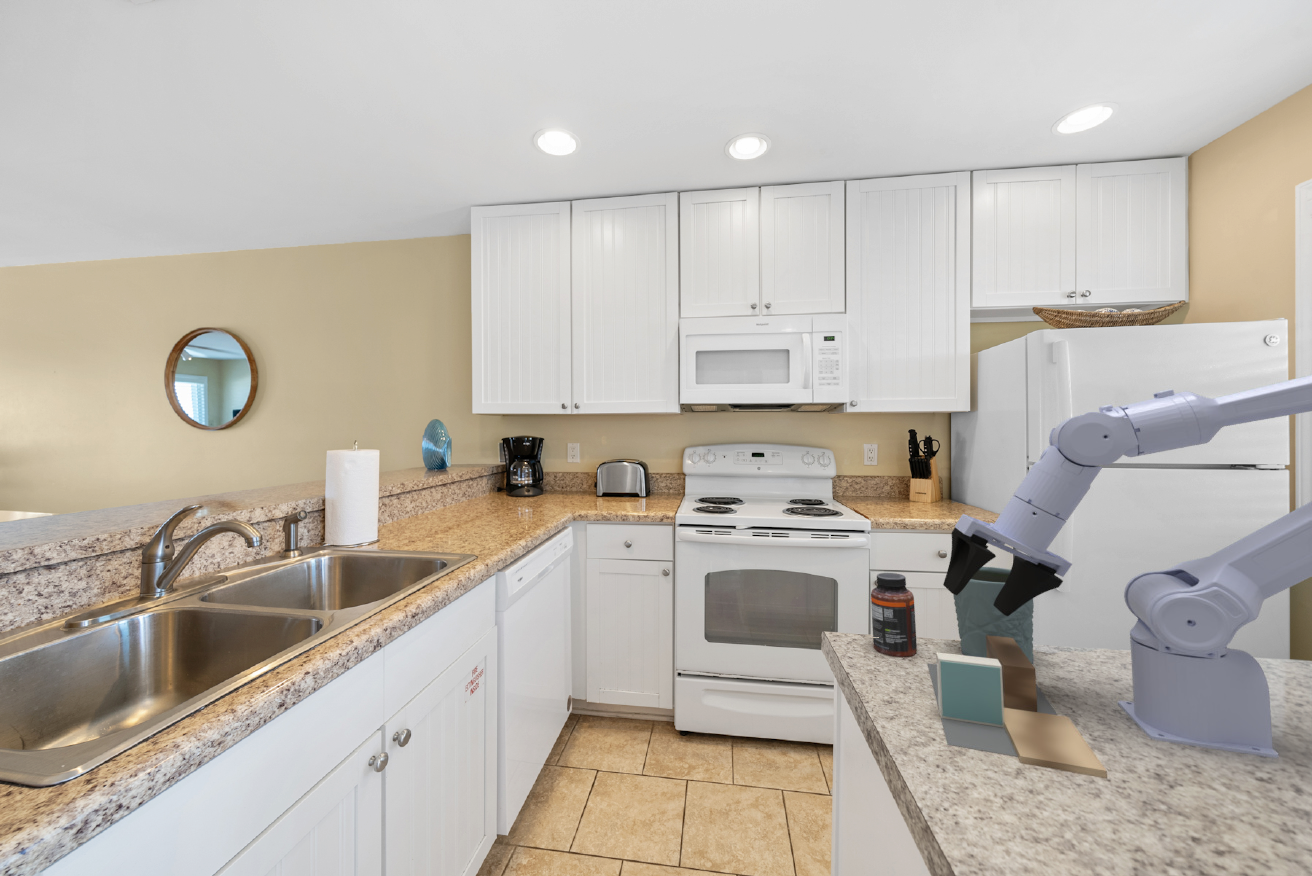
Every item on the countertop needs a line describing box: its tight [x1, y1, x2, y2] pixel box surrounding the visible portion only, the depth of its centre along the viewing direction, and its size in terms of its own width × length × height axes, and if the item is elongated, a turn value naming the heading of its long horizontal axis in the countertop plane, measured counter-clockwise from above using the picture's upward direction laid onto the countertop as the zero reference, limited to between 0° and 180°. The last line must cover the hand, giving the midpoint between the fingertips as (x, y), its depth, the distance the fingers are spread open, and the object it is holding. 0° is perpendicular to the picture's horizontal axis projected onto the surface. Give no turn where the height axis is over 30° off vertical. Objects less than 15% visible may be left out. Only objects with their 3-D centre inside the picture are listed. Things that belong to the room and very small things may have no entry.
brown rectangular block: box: [986, 635, 1037, 712], centre depth 62 cm, size 3×10×5 cm, turn 157°
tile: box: [935, 652, 1005, 728], centre depth 57 cm, size 6×2×6 cm, turn 67°
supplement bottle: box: [870, 572, 918, 658], centre depth 77 cm, size 6×6×11 cm
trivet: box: [1004, 708, 1108, 779], centre depth 52 cm, size 6×10×1 cm, turn 157°
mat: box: [926, 663, 1059, 758], centre depth 59 cm, size 12×21×1 cm, turn 157°
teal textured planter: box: [953, 566, 1035, 665], centre depth 73 cm, size 10×10×12 cm
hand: (975, 600), depth 63 cm, fingers open, 7 cm apart
